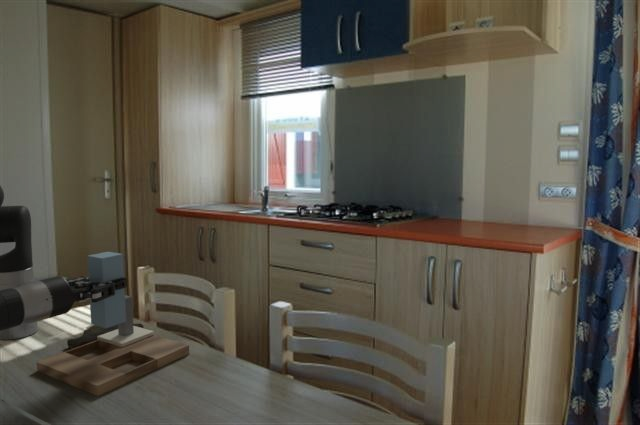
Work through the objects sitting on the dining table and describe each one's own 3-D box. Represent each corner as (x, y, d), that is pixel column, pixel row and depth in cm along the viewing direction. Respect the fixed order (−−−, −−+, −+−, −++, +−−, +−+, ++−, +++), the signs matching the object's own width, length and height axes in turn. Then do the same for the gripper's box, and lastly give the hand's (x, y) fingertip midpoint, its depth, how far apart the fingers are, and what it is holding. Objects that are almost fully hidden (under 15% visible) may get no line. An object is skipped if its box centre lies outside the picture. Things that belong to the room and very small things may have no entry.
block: (91, 324, 104) (87, 255, 102) (111, 317, 108) (108, 251, 107) (105, 328, 102) (101, 258, 100) (126, 321, 106) (122, 254, 104)
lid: (97, 339, 114) (95, 299, 113) (130, 327, 122) (128, 289, 121) (122, 347, 110) (119, 305, 108) (154, 334, 117) (152, 295, 116)
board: (37, 373, 103) (36, 361, 102) (130, 338, 122) (129, 328, 122) (98, 398, 92) (97, 385, 91) (189, 355, 111) (188, 345, 111)
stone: (75, 355, 112) (74, 343, 112) (55, 343, 119) (54, 332, 119) (146, 335, 125) (145, 324, 125) (124, 325, 133) (123, 315, 132)
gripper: (60, 286, 88) (138, 267, 102) (17, 276, 95) (96, 259, 109) (62, 326, 89) (140, 302, 103) (20, 313, 96) (98, 292, 110)
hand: (117, 280), depth 106 cm, fingers closed on block, 5 cm apart
